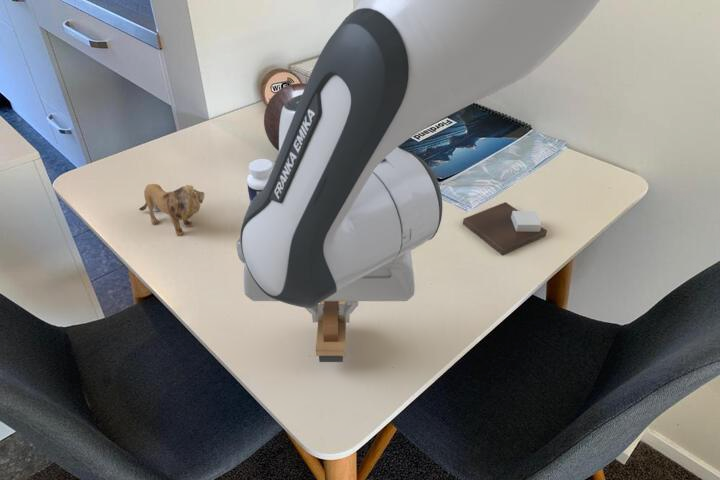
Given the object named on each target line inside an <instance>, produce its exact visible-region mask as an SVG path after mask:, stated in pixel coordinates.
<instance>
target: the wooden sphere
mask: <svg viewBox="0 0 720 480" xmlns="http://www.w3.org/2000/svg"><path fill="white" fill-rule="evenodd" d="M306 84H307V83H303V82H302V83H301V82H300V83H293V84H287V85H285V86H284V87H281V88H280V89H279V90H277V91H276V92H275V93H274V94H273V95H272V96H271V97H270V99H269V100H268V103H267V105H266V107H265V110H264V115H263V127H264V131H265V135H266V137H267V139H268V141H269V142H270V144H271V145H272V146H273V147H274V148H275V149H276V151H278V152H279V126H280V117H281V112H282V108H283V106H284V105H285V104H286V103H287V102H288V101H290V100H291V99H292V98H294V97H296V96H299V95H302V94H303V92H304V89H305V87H306Z"/></svg>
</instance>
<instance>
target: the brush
mask: <svg viewBox="0 0 720 480" xmlns="http://www.w3.org/2000/svg"><path fill="white" fill-rule="evenodd" d="M345 302H346V301H322V302H320V303H319V304H324V312H323V322H318V323H317V329H316V340H315V341H316V342H315V355H316V356H318V362H319V363H344V357H345V356H346V346H347V345H346V343H347V340H346V339H347V323H342V322H338V304H345Z"/></svg>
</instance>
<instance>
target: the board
mask: <svg viewBox="0 0 720 480" xmlns="http://www.w3.org/2000/svg"><path fill="white" fill-rule="evenodd" d="M512 211H519V210H518V209H516V208H515V207H513V206H512V205H510V204H509V203H508V202H506V201H505V202H502V203H499V204H497V205H494V206H491V207H489V208H487V209H484V210H482V211H479V212H477V213H474V214H472V215H469V216H467V217H463V219H462V225H463V226H465V227H466V228H467V229H469V230H470V231H471V232H472V233H473V234H475V235H476V236H477V237H478V238H480V239H481V240H482V241H483V242H484V243H486V244H487V245H488V246H490V247H491V248H492V249H493V250H495V251H496V252H498V253H499V254H500V255H501V256H505V255H507V254H509V253H512V252H513V251H516V250H517V249H520V248H523V247H525V246H527V245H529V244H531V243H533V242H535V241H538V240H541V239H542V238H545V237H546V236H547V233H548V230H547V229H546V228H544V227H542V226H541V229H540V232H516V230H515V227H514V224H513V222H512V219H511V215H512Z"/></svg>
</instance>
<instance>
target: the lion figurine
mask: <svg viewBox="0 0 720 480" xmlns="http://www.w3.org/2000/svg"><path fill="white" fill-rule="evenodd" d="M143 192H144V193H143V197H144V201H145V203H144V205H143V206H141V207H140V208H138V210H139V211H142V212H143V211H145V210H146V209H147V208H148V214H149V217H150V222H151V225H157V224H158V223H159V220H158V218H156V216H155V212H160V211H161V212H162V213H164V214H165V215H168V216H169V218H170V220H171V222H172V225H173V227H174V230H175V234H176V236H177V237H181V236H183V235H184V234H185V232H184V231H183V228H182V227H181V224H180V221H182V223H183V226H184V227H187V228H191V227H192V226H193V222H192V221H189V219H191V218H192V217H193V216H194V215H195V214H197V213H198V212H199V211H200V209H201V204H203V203H204V200H205V192H204V191H199V190H197V189H194V186H193V185H189V184H186V185H182V186H180V187H178V188H177V189H175V190H173V191H168V192H167V191H165V190H164V189H163V188H162V187H161V185H159V184H156V183H149V184H147V185H146V186H145V188H144V191H143Z"/></svg>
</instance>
